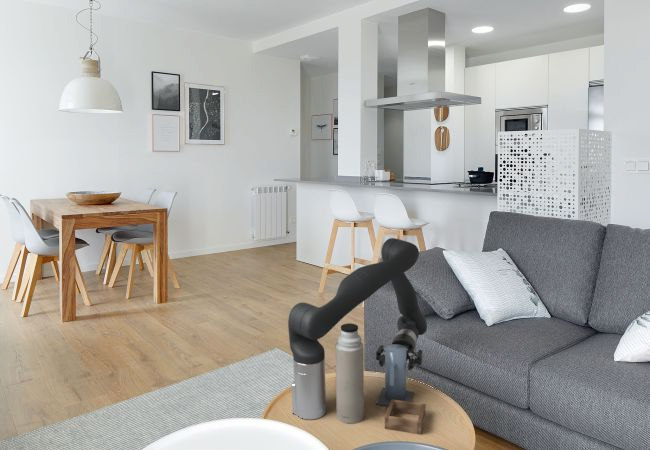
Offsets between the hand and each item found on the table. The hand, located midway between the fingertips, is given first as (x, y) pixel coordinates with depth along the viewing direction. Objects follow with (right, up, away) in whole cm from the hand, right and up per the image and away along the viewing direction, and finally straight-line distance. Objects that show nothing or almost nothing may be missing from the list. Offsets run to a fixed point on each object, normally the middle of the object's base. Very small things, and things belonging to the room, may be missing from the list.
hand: (395, 365), depth 158 cm
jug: (0, -11, +2) cm, 11 cm away
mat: (0, -11, +3) cm, 12 cm away
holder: (+2, -14, -9) cm, 16 cm away
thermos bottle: (-14, -13, -6) cm, 20 cm away
